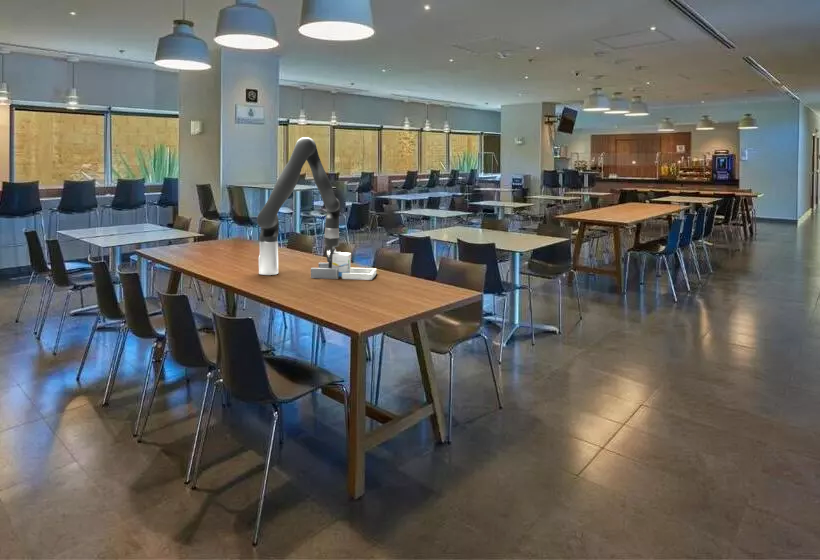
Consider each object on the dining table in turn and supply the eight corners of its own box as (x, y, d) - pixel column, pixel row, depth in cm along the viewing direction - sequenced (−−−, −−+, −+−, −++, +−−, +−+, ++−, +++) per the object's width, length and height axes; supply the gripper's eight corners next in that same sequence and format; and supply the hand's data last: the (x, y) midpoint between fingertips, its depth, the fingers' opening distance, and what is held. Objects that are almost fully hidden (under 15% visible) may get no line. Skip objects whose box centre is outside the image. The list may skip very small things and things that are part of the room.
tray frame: (342, 278, 306) (342, 273, 305) (348, 273, 322) (348, 267, 321) (371, 280, 305) (371, 274, 304) (376, 274, 320) (376, 268, 320)
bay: (310, 277, 307) (310, 268, 306) (319, 271, 324) (319, 262, 323) (337, 279, 305) (337, 269, 304) (344, 272, 323) (344, 263, 322)
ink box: (347, 277, 310) (348, 255, 307) (331, 276, 310) (332, 254, 308) (350, 274, 318) (351, 252, 316) (334, 273, 319) (335, 251, 316)
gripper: (327, 234, 317) (326, 266, 321) (321, 237, 304) (320, 271, 308) (341, 235, 317) (340, 267, 320) (336, 238, 304) (335, 272, 307)
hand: (330, 269), depth 314 cm, fingers closed
